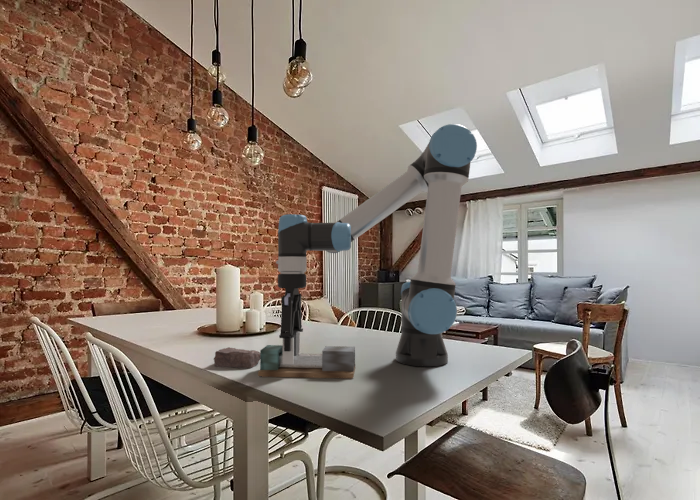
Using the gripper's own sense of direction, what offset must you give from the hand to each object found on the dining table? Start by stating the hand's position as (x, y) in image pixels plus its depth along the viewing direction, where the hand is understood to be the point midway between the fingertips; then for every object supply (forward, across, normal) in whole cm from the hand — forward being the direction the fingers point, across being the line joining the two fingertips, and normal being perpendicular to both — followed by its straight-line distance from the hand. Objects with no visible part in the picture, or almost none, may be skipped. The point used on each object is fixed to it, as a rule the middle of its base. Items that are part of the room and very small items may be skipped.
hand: (291, 359), depth 103 cm
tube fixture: (+3, 0, +5) cm, 6 cm away
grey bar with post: (+2, 0, +2) cm, 3 cm away
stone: (+4, -7, -17) cm, 19 cm away
